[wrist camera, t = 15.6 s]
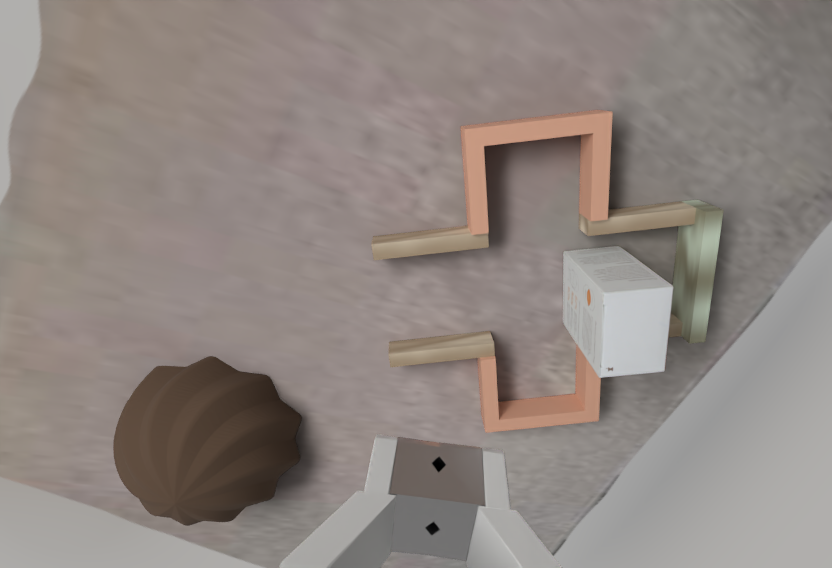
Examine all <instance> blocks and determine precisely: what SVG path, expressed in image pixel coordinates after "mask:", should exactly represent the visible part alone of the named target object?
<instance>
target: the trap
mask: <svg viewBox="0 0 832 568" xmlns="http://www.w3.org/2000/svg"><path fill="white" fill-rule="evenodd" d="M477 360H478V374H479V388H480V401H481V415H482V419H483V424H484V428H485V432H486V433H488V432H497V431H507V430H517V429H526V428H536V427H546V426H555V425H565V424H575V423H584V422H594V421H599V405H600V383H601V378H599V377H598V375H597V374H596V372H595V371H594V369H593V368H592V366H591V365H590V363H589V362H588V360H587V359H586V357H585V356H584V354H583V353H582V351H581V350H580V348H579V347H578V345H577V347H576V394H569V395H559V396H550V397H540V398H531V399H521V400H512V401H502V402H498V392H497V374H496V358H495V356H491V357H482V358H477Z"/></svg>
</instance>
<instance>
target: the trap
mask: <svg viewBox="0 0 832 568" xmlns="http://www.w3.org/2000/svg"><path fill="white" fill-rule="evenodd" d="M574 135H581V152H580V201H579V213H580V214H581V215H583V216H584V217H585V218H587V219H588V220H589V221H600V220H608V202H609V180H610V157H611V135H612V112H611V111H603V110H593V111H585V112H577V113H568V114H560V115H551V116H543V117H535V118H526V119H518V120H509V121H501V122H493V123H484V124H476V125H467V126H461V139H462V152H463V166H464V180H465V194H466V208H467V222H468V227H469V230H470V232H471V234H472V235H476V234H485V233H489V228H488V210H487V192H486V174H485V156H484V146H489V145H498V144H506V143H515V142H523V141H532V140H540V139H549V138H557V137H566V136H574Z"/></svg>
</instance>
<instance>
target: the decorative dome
mask: <svg viewBox="0 0 832 568" xmlns="http://www.w3.org/2000/svg"><path fill="white" fill-rule="evenodd" d="M300 422H301V415H300V414H299V413H297V412H296V411H295V410H293V409H292V408H291V407H289V406H288V405H287V404H285V403H284V402H283V401H281V400H280V398H279V396H278V394H277V392H276V389H275V387H274V385H273V382H272V380H271V379H270V377H268V376H267V375H262V374H254V373H247V372H240V371H237V370H236V369H234V368H232V367H231V366H229V365H227V364H226V363H224V362H222V361H221V360H219V359H218V358H216V357H213V356H210V357H207V358H204V359H202V360H200V361H198V362H196V363H194V364H192V365H190V366H188V367H175V366H158V367H156V368H155V369H153V370H152V371H151V372H150V373H149V374H148V375H147V376H146V378H145V379H144V380H143V381H142V382H141V383H140V384H139V386H138V387H137V388H136V389H135V391H134V392H133V394H132V395H131V397H130V399H129V400H128V401H127V403H126V405H125V407H124V409H123V411H122V413H121V416H120V418H119V421H118V424H117V427H116V431H115V436H114V459H115V464H116V468H117V471H118V474H119V476H120V478H121V480H122V482H123V483H124V485H125V486H126V488H127V489H128V490H129V491H130V492H131V493H132V494H133V495H134V496H136V497H137V498H139V500H140V501H141V503H142V505H143V506H144V507H145V509H146V510H147V511H148V512H149V513H150V514H152V515H154V516H161V517H169V518H172V519H174V520H176V521H178V522H180V523H181V524H183V525H186V526H188V525H192V524H195V523H198V522H201V521H214V522H228V521H232V520H233V519H234V518H235V517H236V516H237V515H238V514H239V513H240V512H241V511H242V510H243V509H244V508H245V507H247V506H250V505H253V504H257V503H260V502H264V501H267V500H270V499H271V498H273V496H274V494H275V490H276V486H277V482H278V479H279V476H281V475H282V474H283V473H284V472H286V471H287V470H288V469H290V468H291V467H292V466H294V465H295V464H297V463H298V462H299V460H300V454H299V451H298V448H297V444H296V441H295V436H296V433H297V430H298V428H299V425H300Z"/></svg>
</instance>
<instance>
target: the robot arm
mask: <svg viewBox="0 0 832 568" xmlns="http://www.w3.org/2000/svg"><path fill="white" fill-rule="evenodd" d="M391 552H401V553H411V554H421V555H428V554H429V555H430V556H436V557H442V558H449V559H455V560H461V561H466V564H467V566H468V568H562V567H561V565H560V564H559V563H558V562H557V560H556V559H555V558H554V557H553V555H552V554H551V553H550V551H549V550H548V549H547V548H546V546H545V545H544V544H543V543H542V541H541V540H540V539H539V537H538V536H537V535H536V534H535V532H534V531H533V530H532V529H531V527H530V526H529V525H528V523H527V522H526V521H525V520H524V518H523V517H522V516H521V515H520V513H519V512H518V511H515V510H511V505H510V496H509V488H508V479H507V471H506V462H505V454H504V452H503V450H501V449H492V448H483V447H481V448H480V447H474V446H465V445H457V444H448V443H437V442H430V441H423V440H416V439H410V438H403V437H393V436H387V435H380V434H377V436H376V438H375V441H374V446H373V451H372V456H371V460H370V465H369V470H368V475H367V480H366V484H365V489H364V491H357V492H356V493H355V494H353V495H352V496H351V497H350V498H349V499H348V500H347V501H346V502H345V503H344V504H343V505H342V506H341V507H340V508H338V509H337V510H336V511H335V512H334V513H333V514H332V515H331V516H330V517H329V518H328V519H327V520H326V521H325V522H324V523H322V524H321V525H320V526H319V527H318V528H317V529H316V530H315V531H314V532H313V533H312V534H311V535H310V536H309V537H307V538H306V539H305V540H304V541H303V542H302V543H301V544H300V545H299V546H298V547H297V548H296V549H295V550H294V551H292V552H291V553H290V554H289V555H288V556H287V557H286V558H285V559H284V560H283V561H282V562H281V564H280V567H279V568H380V567H381V566H382V565H383V563H384V562H385V561H386V559H387V558H388V557H389V555H390V553H391Z"/></svg>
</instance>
